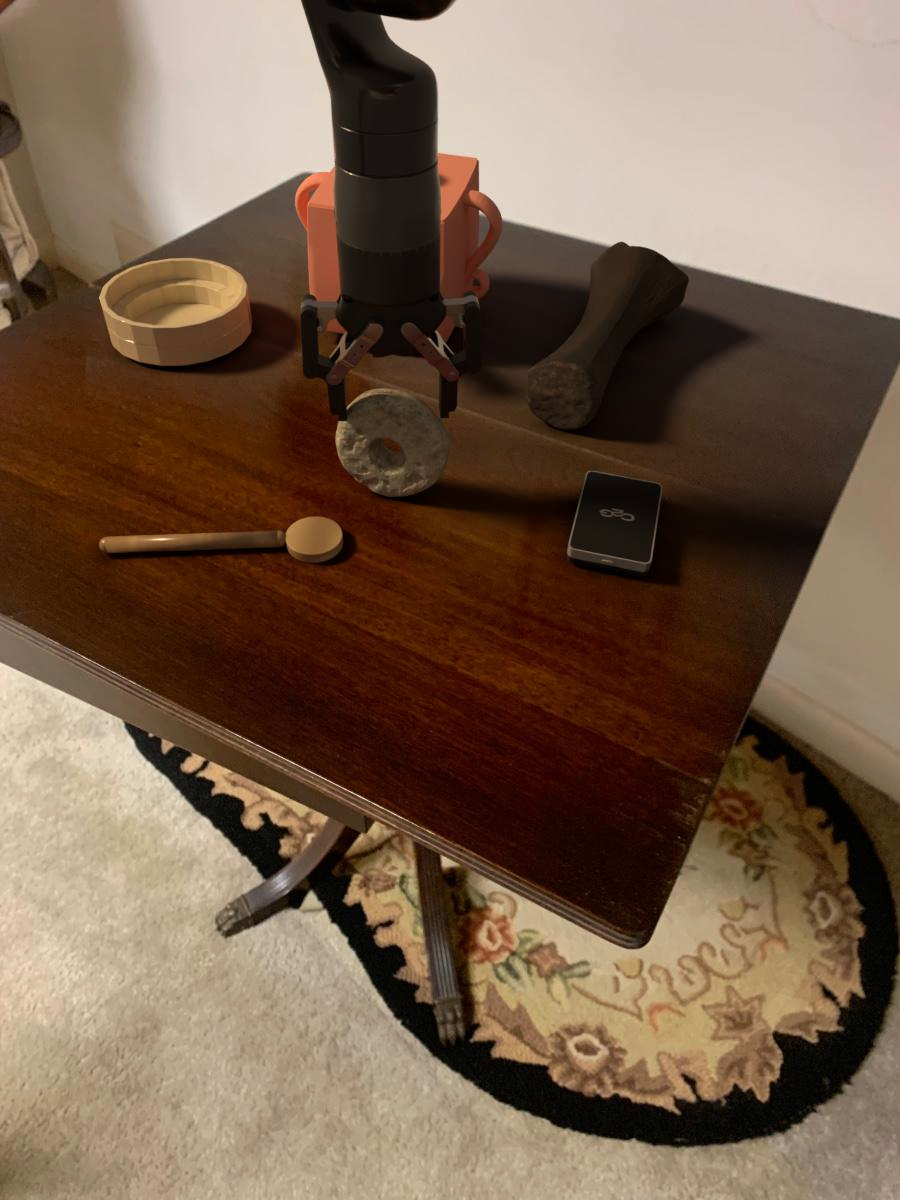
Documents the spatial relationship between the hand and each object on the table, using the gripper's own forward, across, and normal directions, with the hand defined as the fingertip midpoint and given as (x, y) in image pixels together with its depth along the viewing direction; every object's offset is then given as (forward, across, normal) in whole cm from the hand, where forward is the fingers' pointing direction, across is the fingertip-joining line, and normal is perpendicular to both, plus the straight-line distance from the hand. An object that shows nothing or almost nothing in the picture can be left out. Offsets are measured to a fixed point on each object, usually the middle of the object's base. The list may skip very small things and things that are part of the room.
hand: (393, 414), depth 75 cm
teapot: (+8, +1, +28) cm, 29 cm away
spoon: (+8, -15, -7) cm, 18 cm away
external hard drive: (+8, +19, -7) cm, 22 cm away
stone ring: (+8, 0, 0) cm, 8 cm away
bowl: (+8, -22, +28) cm, 37 cm away
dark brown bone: (+8, +24, +20) cm, 32 cm away
